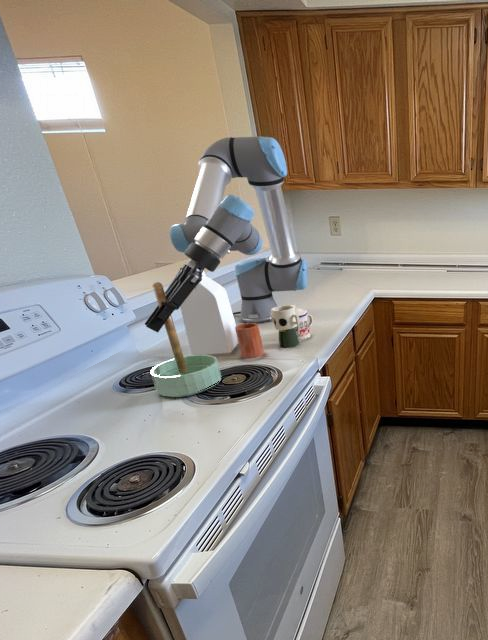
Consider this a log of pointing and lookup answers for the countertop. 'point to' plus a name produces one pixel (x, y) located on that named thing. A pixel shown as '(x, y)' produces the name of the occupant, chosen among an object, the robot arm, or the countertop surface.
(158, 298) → the stirring stick
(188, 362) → the bowl
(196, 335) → the milk
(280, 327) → the character mug
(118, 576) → the countertop surface
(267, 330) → the countertop surface
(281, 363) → the countertop surface
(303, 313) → the white patterned mug
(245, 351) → the utensil crock
